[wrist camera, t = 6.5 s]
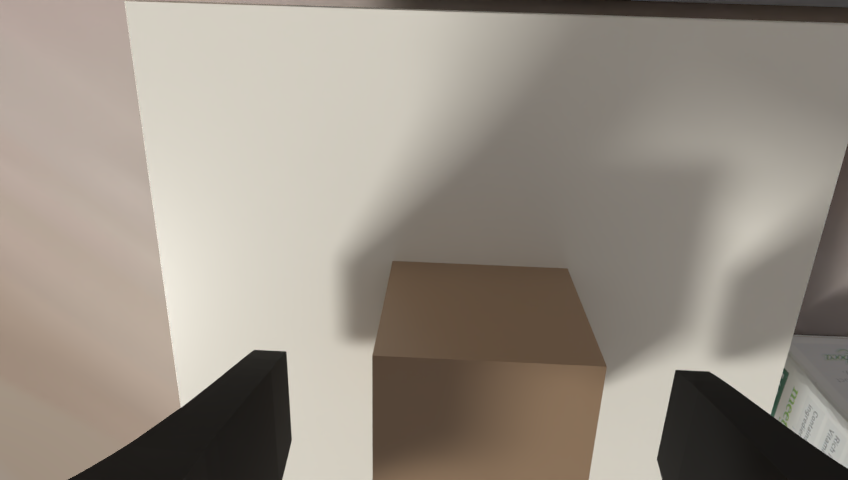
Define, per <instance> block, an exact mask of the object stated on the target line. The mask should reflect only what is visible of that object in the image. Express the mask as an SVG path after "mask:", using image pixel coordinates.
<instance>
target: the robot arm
mask: <svg viewBox="0 0 848 480" xmlns="http://www.w3.org/2000/svg"><path fill="white" fill-rule="evenodd" d="M291 442H292V435H291V419H290V402H289V386H288V369H287V353H286V351H268V350H253V351H252V352H251V353H249V354H248V355H247V356H245V357H244V358H243V359H242V360H240V361H239V362H238V363H237V364H235V365H234V366H233V367H232V368H231V369H229V370H228V371H227V372H226V373H224V374H223V375H222V376H221V377H220V378H218V379H217V380H216V381H215V382H213V383H212V384H211V385H209V386H208V387H207V388H206V389H204V390H203V391H202V392H201V393H199V394H198V395H197V396H195V397H194V398H193V399H192V400H190V401H189V402H188V403H186V404H185V405H184V406H183V407H181V408H180V409H178V410H177V411H176V412H174V413H173V414H171V415H170V416H169V417H167V418H166V419H164V420H163V421H161V422H160V423H159V424H157V425H156V426H154V427H153V428H152V429H150V430H149V431H147V432H146V433H144V434H143V435H142V436H140V437H139V438H137V439H136V440H134V441H133V442H131V443H130V444H128V445H127V446H125V447H123V448H122V449H120V450H119V451H117V452H115V453H114V454H112V455H111V456H109V457H107V458H105V459H104V460H102V461H100V462H99V463H97V464H95V465H93V466H92V467H90V468H88V469H86V470H85V471H83V472H81V473H79V474H78V475H76V476H74V477H72V478H70V479H68V480H282V478H283V475H284V471H285V467H286V463H287V458H288V454H289V450H290V446H291ZM657 462H658V466H659V469H660V473H661V477H662V480H848V469H847V468H846V467H844V466H843V465H841V464H840V463H838V462H837V461H835V460H834V459H832V458H831V457H829V456H828V455H826V454H825V453H823V452H822V451H820V450H819V449H817V448H816V447H815V446H813V445H812V444H810V443H809V442H807V441H806V440H805V439H803V438H802V437H800V436H799V435H798V434H796V433H795V432H793V431H792V430H791V429H789V428H788V427H786V426H785V425H784V424H782V423H781V422H780V421H778V420H777V419H775V418H774V417H773V416H771V415H770V414H769V413H767V412H766V411H765V410H763V409H762V408H760V407H759V406H758V405H756V404H755V403H754V402H752V401H751V400H750V399H748V398H747V397H746V396H744V395H743V394H741V393H740V392H739V391H737V390H736V389H735V388H733V387H732V386H730V385H729V384H728V383H726V382H725V381H723V380H722V379H720V378H719V377H717V376H716V375H714V374H712V373H711V372H709V371H689V370H675V374H674V379H673V384H672V389H671V394H670V398H669V403H668V408H667V413H666V417H665V422H664V427H663V432H662V436H661V441H660V446H659V451H658V456H657Z"/></svg>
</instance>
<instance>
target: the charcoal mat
mask: <svg viewBox="0 0 848 480" xmlns="http://www.w3.org/2000/svg"><path fill="white" fill-rule="evenodd" d="M633 1H664V2H695V3H726V4H757V5H788V6H820V7H848V0H633Z"/></svg>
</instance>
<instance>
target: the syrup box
mask: <svg viewBox="0 0 848 480" xmlns="http://www.w3.org/2000/svg"><path fill="white" fill-rule="evenodd" d="M771 416H773V417H774V418H775V419H777V420H778V421H780V422H781V423H782V424H784V425H785V426H786V427H788V428H789V429H791V430H792V431H793V432H795V433H796V434H798V435H799V436H800V437H802V438H803V439H805V440H806V441H807V442H809V443H810V444H812V445H813V446H815V447H816V448H817V449H819V450H820V451H822V452H823V453H825V454H826V455H828V456H829V457H831V458H832V459H834V460H835V461H837V462H838V463H840V464H841V465H843V466H844V467H846V468H847V469H848V337H838V336H811V335H793V338H792V341H791V345H790V348H789V352H788V355H787V359H786V362H785V366H784V369H783V373H782V376H781V380H780V383H779V387H778V391H777V394H776V398H775V401H774V405H773V408H772V412H771Z"/></svg>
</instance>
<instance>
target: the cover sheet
mask: <svg viewBox="0 0 848 480" xmlns="http://www.w3.org/2000/svg"><path fill="white" fill-rule="evenodd" d="M124 2H125V9H126V17H127V24H128V31H129V38H130V45H131V53H132V60H133V67H134V74H135V81H136V89H137V96H138V103H139V110H140V117H141V125H142V132H143V139H144V146H145V153H146V161H147V168H148V175H149V182H150V189H151V197H152V204H153V211H154V218H155V225H156V233H157V240H158V247H159V254H160V261H161V269H162V276H163V283H164V290H165V297H166V305H167V312H168V319H169V326H170V333H171V341H172V348H173V355H174V362H175V369H176V377H177V384H178V391H179V398H180V405H181V407H183V406H184V405H185V404H186V403H188V402H189V401H190V400H192V399H193V398H194V397H195V396H197V395H198V394H199V393H201V392H202V391H203V390H204V389H206V388H207V387H208V386H209V385H211V384H212V383H213V382H215V381H216V380H217V379H218V378H220V377H221V376H222V375H223V374H224V373H226V372H227V371H228V370H229V369H231V368H232V367H233V366H234V365H235V364H237V363H238V362H239V361H240V360H242V359H243V358H244V357H245V356H247V355H248V354H249V353H251V352H252V351H253V350H268V351H286V353H287V369H288V386H289V402H290V419H291V435H292V442H291V446H290V450H289V454H288V458H287V463H286V467H285V471H284V475H283V478H282V480H662V477H661V473H660V469H659V466H658V462H657V456H658V451H659V446H660V441H661V436H662V432H663V427H664V422H665V417H666V413H667V408H668V403H669V398H670V394H671V389H672V384H673V379H674V374H675V370H689V371H709V372H711V373H712V374H714V375H716V376H717V377H719V378H720V379H722V380H723V381H725V382H726V383H728V384H729V385H730V386H732V387H733V388H735V389H736V390H737V391H739V392H740V393H741V394H743V395H744V396H746V397H747V398H748V399H750V400H751V401H752V402H754V403H755V404H756V405H758V406H759V407H760V408H762V409H763V410H765V411H766V412H767V413H769V414H770V415H771V412H772V408H773V405H774V401H775V398H776V394H777V391H778V387H779V383H780V380H781V376H782V373H783V369H784V366H785V362H786V359H787V355H788V352H789V348H790V345H791V341H792V338H793V334H794V331H795V327H796V324H797V320H798V317H799V313H800V310H801V306H802V303H803V299H804V296H805V292H806V289H807V285H808V281H809V278H810V274H811V271H812V267H813V264H814V260H815V257H816V253H817V250H818V246H819V243H820V239H821V236H822V232H823V229H824V225H825V222H826V218H827V215H828V211H829V208H830V204H831V201H832V197H833V194H834V190H835V187H836V183H837V179H838V176H839V172H840V169H841V165H842V162H843V158H844V155H845V151H846V148H847V144H848V23H828V22H797V21H766V20H736V19H705V18H674V17H643V16H613V15H582V14H551V13H520V12H490V11H459V10H428V9H397V8H366V7H336V6H305V5H274V4H243V3H213V2H182V1H151V0H134V1H124Z"/></svg>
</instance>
